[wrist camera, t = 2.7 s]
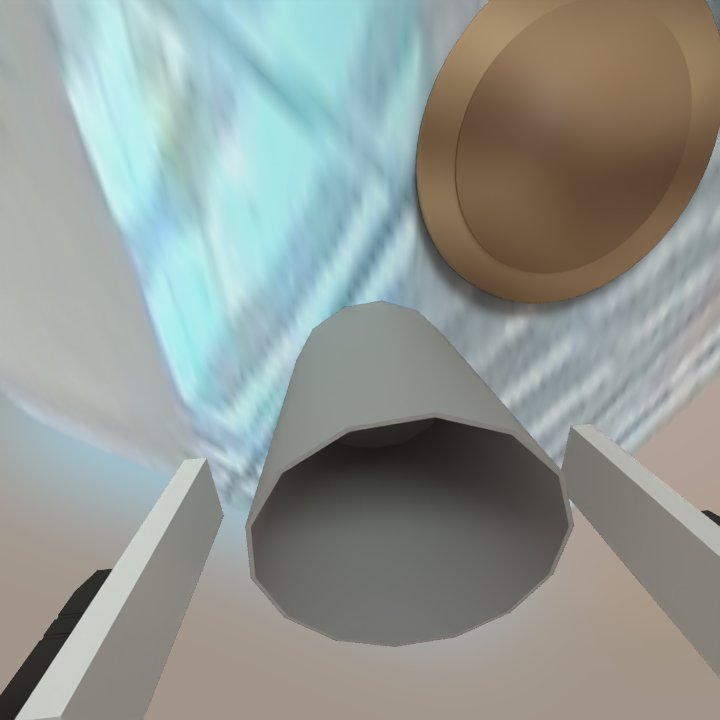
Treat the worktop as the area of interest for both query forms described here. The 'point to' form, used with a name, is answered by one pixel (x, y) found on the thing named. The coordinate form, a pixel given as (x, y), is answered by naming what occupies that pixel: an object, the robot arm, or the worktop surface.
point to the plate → (567, 140)
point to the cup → (400, 489)
